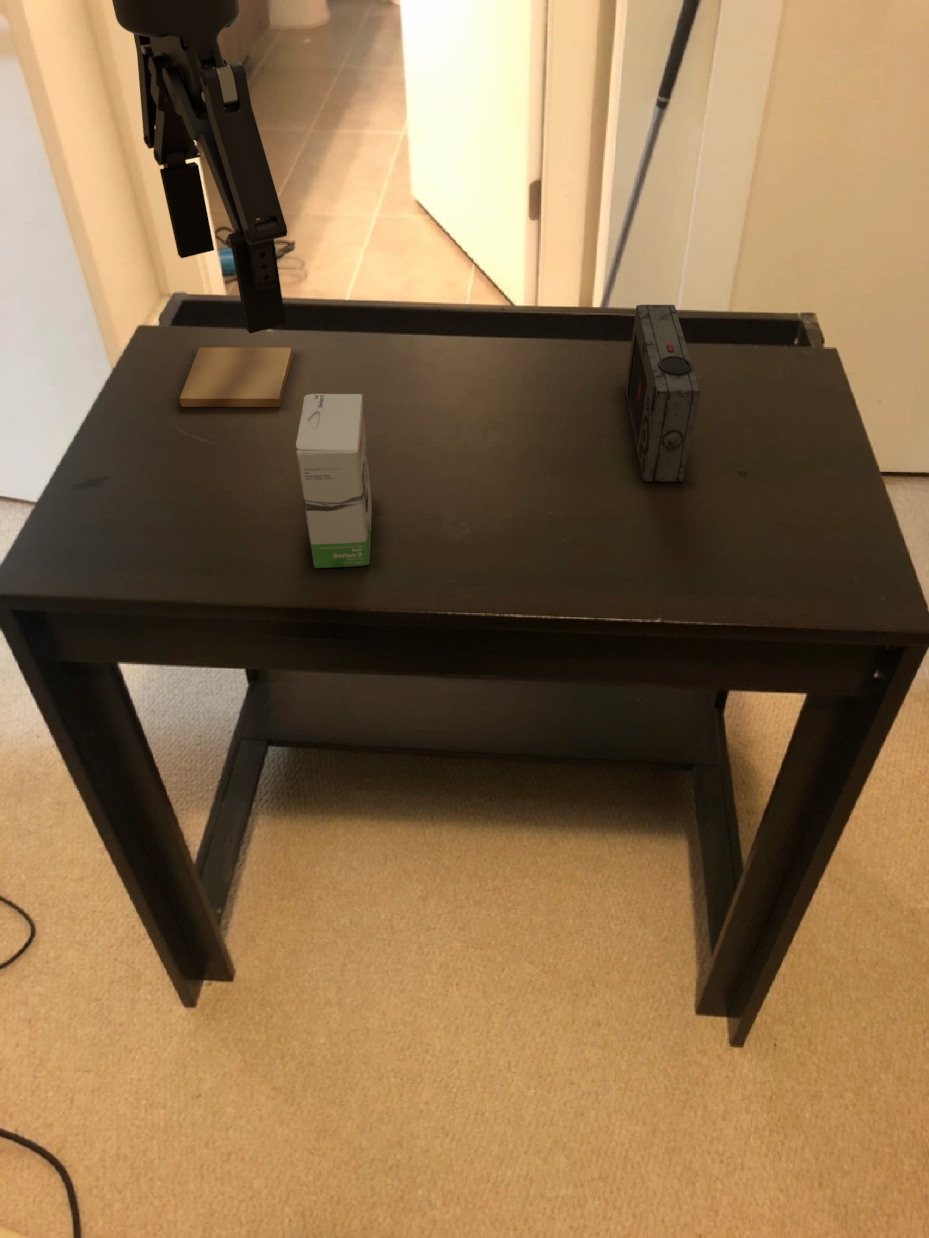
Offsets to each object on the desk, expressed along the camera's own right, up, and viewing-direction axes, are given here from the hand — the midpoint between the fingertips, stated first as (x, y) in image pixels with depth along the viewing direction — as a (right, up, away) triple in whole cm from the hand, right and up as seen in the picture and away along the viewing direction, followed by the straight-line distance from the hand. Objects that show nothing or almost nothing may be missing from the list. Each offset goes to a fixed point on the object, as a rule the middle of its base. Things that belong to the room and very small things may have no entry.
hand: (229, 288), depth 73 cm
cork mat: (-6, 0, +30) cm, 31 cm away
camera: (+36, -7, +23) cm, 43 cm away
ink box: (+7, -17, +12) cm, 23 cm away
